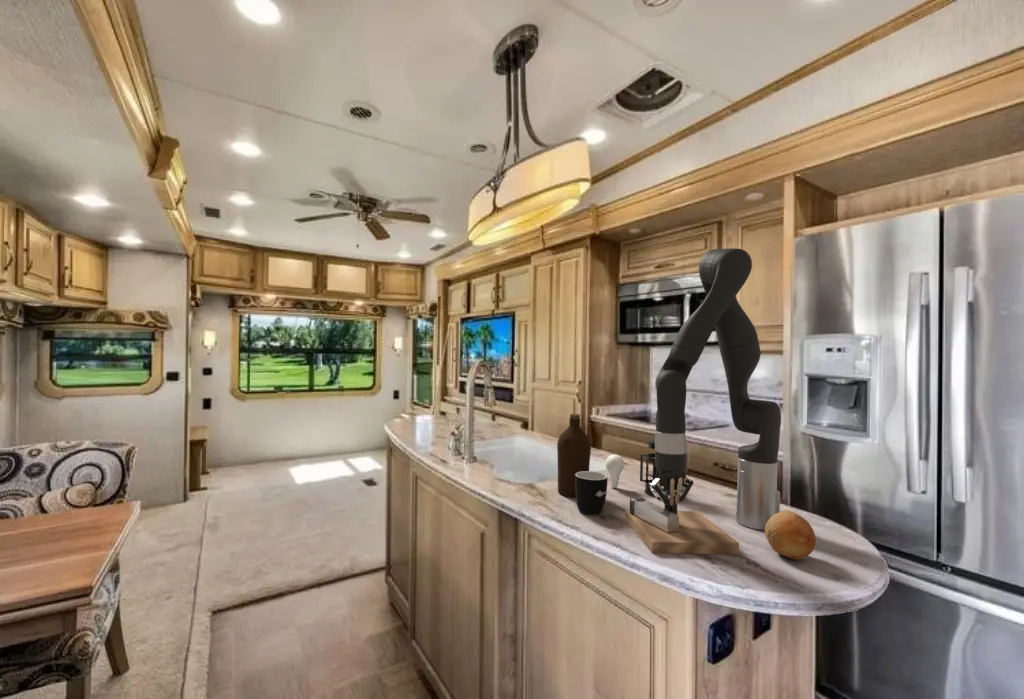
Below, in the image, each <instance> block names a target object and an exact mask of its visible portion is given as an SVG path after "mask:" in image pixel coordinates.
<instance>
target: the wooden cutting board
mask: <svg viewBox="0 0 1024 699" xmlns="http://www.w3.org/2000/svg"><path fill="white" fill-rule="evenodd" d="M629 510H630V509H625V510H624V520H625V522H626V523H627V524H628V526H629V527H630V528H631V529H632V530H633V532H634V533H635V534H636V535H637V537H639V539H640V540H641V542H642V543H643V544H644V546H645V547H646V548H647V549H648V550H649V551H651V552H650V553H651V554H680V553H693V554H695V555H698V554H699V555H700V554H701V555H702V554H703V555H705V554H706V555H709V554H711V555H739V554H740V542H739V541H737V540H736V539H734V538H733V537H732V536H731V535H730V534H728V533H727V532H726V531H725V530H723V529H722V528H720V527H719V526H718V525H717V524H715V523H714V522H713V521H711V520H710V519H709V518H707V516H704V515H703V514H702V513H700V512H699V511H698V510H677V515H679V531H673V532H666V531H664V530H662V529H660V528H658V527H656V526H654V525H653V524H651V523H649V522H647V521H645V520H643V519H642V518H640V517H638V516H636V515H634V514H631V513H630V512H629ZM693 554H692V555H693Z"/></svg>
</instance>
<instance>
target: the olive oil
mask: <svg viewBox="0 0 1024 699" xmlns="http://www.w3.org/2000/svg"><path fill="white" fill-rule="evenodd" d="M580 418H581V414H579V413H570V414H569V419H568V420H569V425H568V427H567V428H566V429H565V430H564V431H563V432H562V433H561V434H560V435H559V437H558V439H557V444H556V446H557V447H556V449H557V450H556V452H557V453H556V454H557V455H556V456H557V493H558V494H559V495H561V496H564V497H567V498H576V491H575V474H576V473H577V472H581V471H590V462H591V453H592V452H591V450H592V444H591V439H590V437H589V436H588V434H587V433H586V432H585V431H584V429H583V428H582V427H581V426H580V425H581V419H580Z"/></svg>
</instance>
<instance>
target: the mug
mask: <svg viewBox="0 0 1024 699" xmlns="http://www.w3.org/2000/svg"><path fill="white" fill-rule="evenodd" d="M607 489H608V475H606V474H605V473H602V472H600V471H593V470H592V471H591V470H589V471H581V472H577V473H576V474H575V491H576V497H575V499H576V500H575V501H576V505H577V510H578V511H579V512H580V513H581V514H584V515H587V516H598V515H601V514H602V513H603V511H604V509H605V505H606V500H607V491H608V490H607Z"/></svg>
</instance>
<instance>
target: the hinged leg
mask: <svg viewBox="0 0 1024 699" xmlns="http://www.w3.org/2000/svg"><path fill="white" fill-rule="evenodd" d="M628 510H629V512H630V513H631V514H634V515H636V516H638V517H640V518H642V519H643V520H645V521H647V522H649V523H651V524H653V525H654V526H656V527H658V528H660V529H662V530H664V531H666V532H673V531H679V515H676V514H674V513H672V512H670V511H668V510H666V509H665V507H662V506H660V505H657V504H655V503H653V502H651V501H649V500H647V499H645V498H644V497H640V496H631V497H629V509H628Z"/></svg>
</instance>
